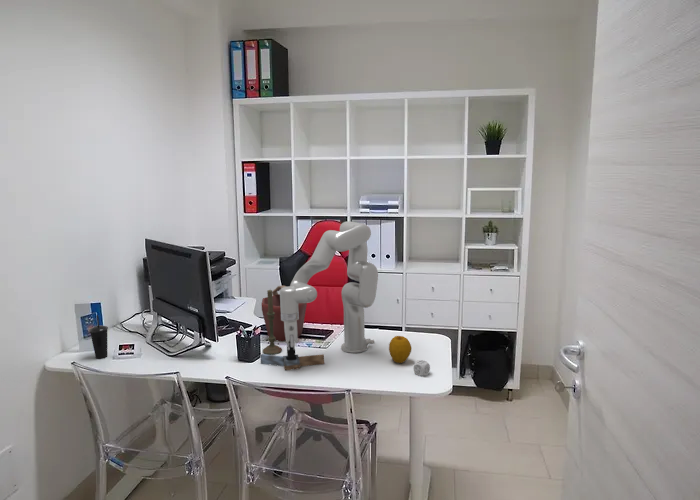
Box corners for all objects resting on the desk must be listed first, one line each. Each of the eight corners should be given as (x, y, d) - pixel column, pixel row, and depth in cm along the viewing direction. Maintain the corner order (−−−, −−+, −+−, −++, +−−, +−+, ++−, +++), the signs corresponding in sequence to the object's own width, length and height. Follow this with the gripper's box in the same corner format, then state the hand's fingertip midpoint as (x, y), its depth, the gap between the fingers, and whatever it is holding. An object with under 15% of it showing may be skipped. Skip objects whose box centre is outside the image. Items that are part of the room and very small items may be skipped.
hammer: (321, 356, 229) (321, 348, 228) (325, 366, 218) (325, 357, 218) (260, 362, 223) (260, 353, 223) (261, 372, 213) (261, 363, 212)
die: (430, 373, 210) (430, 362, 209) (423, 377, 206) (423, 365, 206) (420, 370, 213) (420, 358, 212) (413, 374, 210) (413, 362, 209)
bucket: (265, 328, 268) (263, 282, 263) (306, 326, 270) (305, 280, 266) (262, 345, 244) (259, 295, 239) (308, 342, 246) (306, 293, 242)
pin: (294, 361, 220) (293, 339, 218) (295, 364, 217) (294, 342, 215) (287, 362, 219) (286, 340, 218) (288, 365, 217) (287, 342, 215)
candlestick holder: (278, 355, 231) (275, 292, 225) (259, 354, 233) (256, 291, 227) (284, 348, 240) (282, 286, 234) (266, 346, 242) (263, 286, 236)
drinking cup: (114, 355, 234) (110, 313, 230) (100, 361, 227) (95, 318, 224) (103, 352, 237) (98, 311, 234) (88, 358, 230) (83, 316, 227)
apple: (414, 359, 224) (414, 334, 222) (405, 367, 216) (406, 341, 214) (394, 355, 229) (394, 331, 227) (385, 363, 220) (385, 337, 218)
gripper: (300, 321, 207) (302, 363, 211) (296, 309, 223) (297, 349, 226) (282, 322, 206) (284, 365, 209) (279, 310, 221) (281, 350, 225)
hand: (291, 356), depth 218 cm, fingers closed on pin, 3 cm apart
